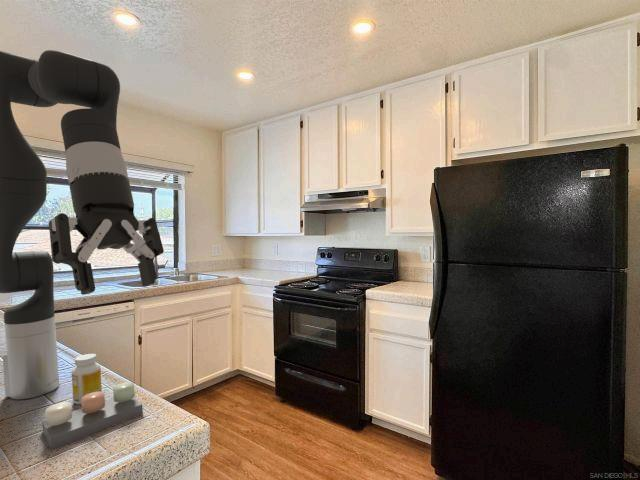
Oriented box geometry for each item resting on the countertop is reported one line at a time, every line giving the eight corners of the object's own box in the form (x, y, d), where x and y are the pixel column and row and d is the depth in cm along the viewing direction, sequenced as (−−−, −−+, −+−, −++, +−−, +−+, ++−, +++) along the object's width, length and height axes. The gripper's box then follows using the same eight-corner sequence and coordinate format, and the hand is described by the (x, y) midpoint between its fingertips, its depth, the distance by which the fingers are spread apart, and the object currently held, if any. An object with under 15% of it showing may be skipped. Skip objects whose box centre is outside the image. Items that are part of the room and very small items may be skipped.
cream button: (40, 426, 63) (40, 413, 63) (56, 414, 67) (56, 402, 67) (62, 425, 63) (61, 412, 63) (76, 414, 67) (76, 401, 67)
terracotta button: (77, 413, 67) (76, 401, 67) (90, 403, 71) (89, 391, 71) (97, 413, 67) (96, 400, 67) (109, 402, 71) (108, 391, 71)
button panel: (51, 449, 61) (50, 438, 61) (42, 432, 67) (42, 421, 67) (142, 413, 72) (142, 404, 72) (128, 401, 77) (128, 392, 77)
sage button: (109, 402, 71) (109, 390, 71) (120, 393, 75) (119, 382, 75) (128, 401, 71) (127, 390, 71) (138, 392, 75) (137, 381, 75)
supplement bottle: (68, 406, 76) (65, 362, 76) (82, 394, 82) (79, 353, 81) (94, 404, 77) (91, 360, 77) (106, 392, 82) (104, 351, 82)
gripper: (131, 195, 60) (151, 289, 57) (29, 184, 47) (49, 303, 45) (159, 178, 56) (181, 277, 54) (56, 161, 44) (78, 288, 41)
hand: (120, 288), depth 49 cm, fingers open, 8 cm apart
